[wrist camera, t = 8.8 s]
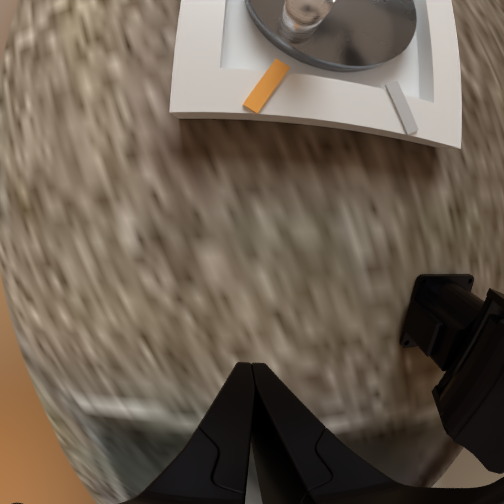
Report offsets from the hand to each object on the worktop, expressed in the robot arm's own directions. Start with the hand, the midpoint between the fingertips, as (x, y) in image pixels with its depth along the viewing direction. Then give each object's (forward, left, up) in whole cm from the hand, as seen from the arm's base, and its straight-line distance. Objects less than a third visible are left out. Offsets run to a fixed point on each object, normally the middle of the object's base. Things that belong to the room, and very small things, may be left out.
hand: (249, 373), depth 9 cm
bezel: (-5, -17, -12) cm, 22 cm away
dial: (-5, -18, -11) cm, 21 cm away
